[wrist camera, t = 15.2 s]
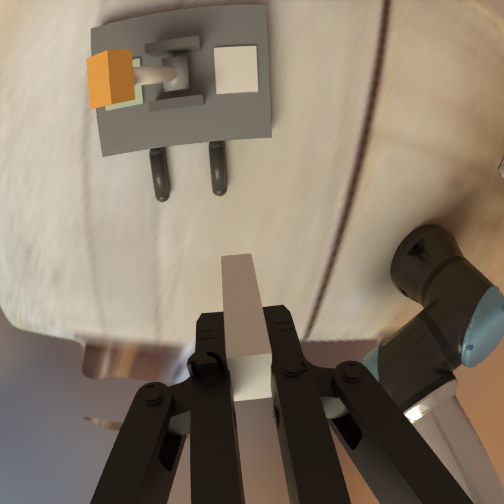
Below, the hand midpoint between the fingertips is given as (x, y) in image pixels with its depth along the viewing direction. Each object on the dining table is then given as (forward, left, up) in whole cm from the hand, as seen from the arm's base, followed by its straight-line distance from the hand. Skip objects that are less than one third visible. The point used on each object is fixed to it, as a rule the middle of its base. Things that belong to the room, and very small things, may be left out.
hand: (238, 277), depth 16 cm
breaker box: (+5, -8, -28) cm, 30 cm away
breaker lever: (+4, -12, -25) cm, 28 cm away
